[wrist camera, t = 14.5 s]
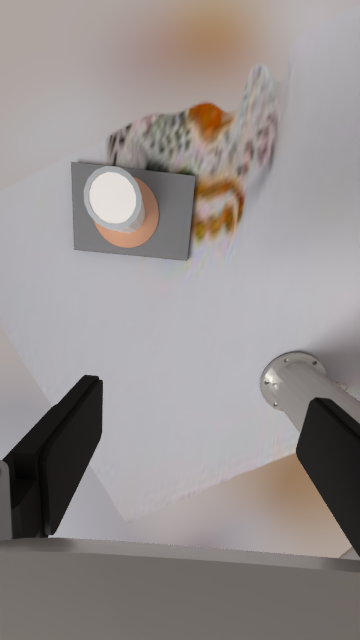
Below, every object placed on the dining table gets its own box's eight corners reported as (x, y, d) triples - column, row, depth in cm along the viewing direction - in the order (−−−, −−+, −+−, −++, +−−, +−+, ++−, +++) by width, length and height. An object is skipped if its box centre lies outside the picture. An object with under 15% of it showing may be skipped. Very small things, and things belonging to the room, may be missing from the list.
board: (194, 180, 32) (195, 175, 30) (186, 260, 35) (187, 260, 33) (76, 166, 31) (71, 161, 30) (78, 250, 34) (74, 249, 33)
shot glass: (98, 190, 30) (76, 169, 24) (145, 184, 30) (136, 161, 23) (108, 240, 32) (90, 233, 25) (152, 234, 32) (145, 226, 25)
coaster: (161, 179, 30) (160, 178, 30) (156, 250, 33) (156, 250, 33) (92, 172, 30) (91, 170, 30) (93, 244, 33) (92, 244, 32)
